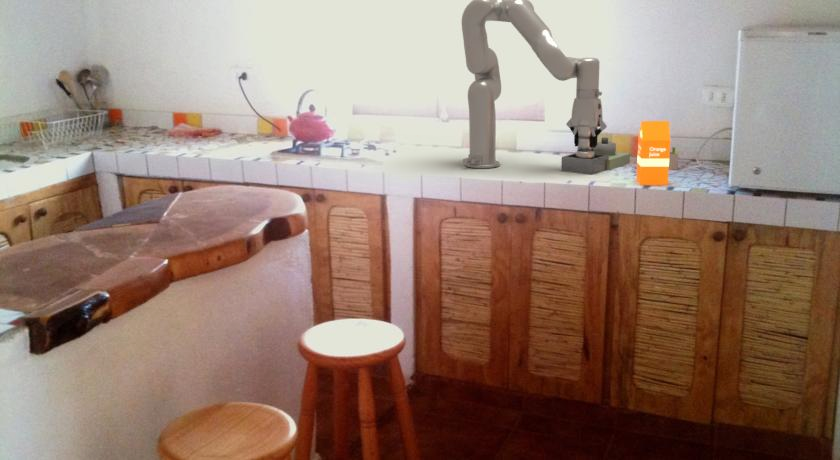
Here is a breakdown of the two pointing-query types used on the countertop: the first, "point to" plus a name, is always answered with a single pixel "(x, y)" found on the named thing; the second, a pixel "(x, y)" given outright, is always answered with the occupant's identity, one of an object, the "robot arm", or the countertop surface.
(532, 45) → the robot arm
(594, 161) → the dark grey tray
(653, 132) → the orange juice
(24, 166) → the countertop surface
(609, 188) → the countertop surface
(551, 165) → the countertop surface
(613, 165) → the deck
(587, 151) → the plastic bottle
